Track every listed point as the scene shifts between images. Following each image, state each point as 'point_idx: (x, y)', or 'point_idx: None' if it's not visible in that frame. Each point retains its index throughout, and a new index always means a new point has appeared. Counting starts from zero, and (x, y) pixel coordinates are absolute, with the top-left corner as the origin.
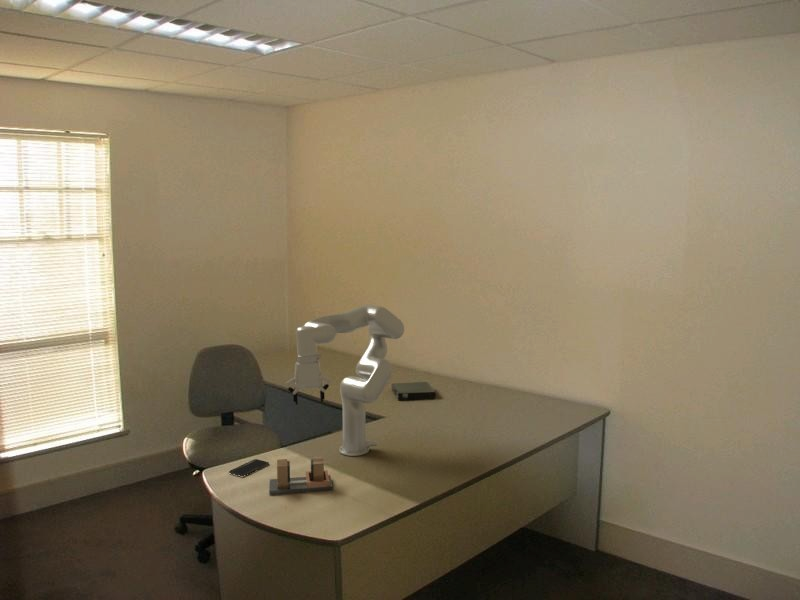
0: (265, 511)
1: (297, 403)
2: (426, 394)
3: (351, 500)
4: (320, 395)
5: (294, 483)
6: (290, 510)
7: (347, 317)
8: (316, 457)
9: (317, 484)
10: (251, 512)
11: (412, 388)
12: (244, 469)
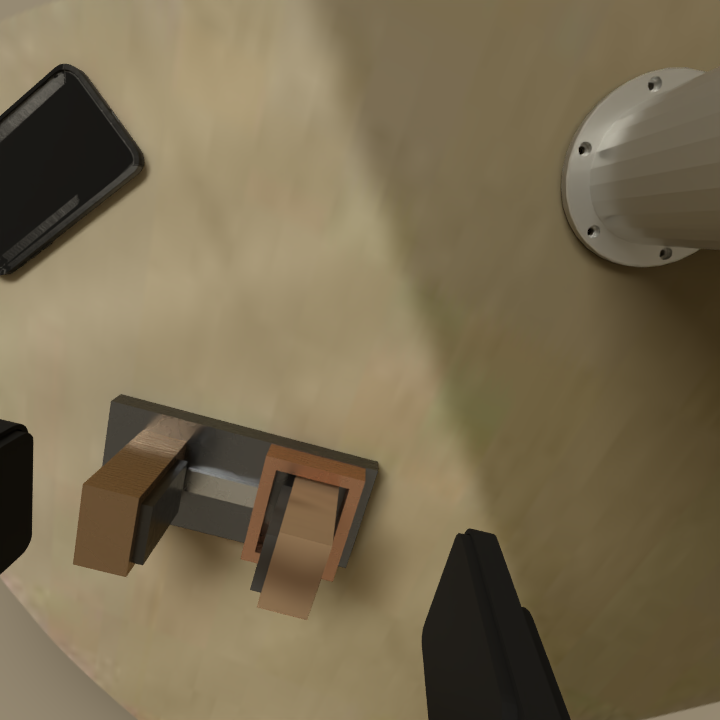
0: (80, 601)
1: (18, 555)
2: None
3: (378, 645)
4: (457, 674)
5: (204, 494)
6: (163, 626)
7: None
8: (296, 542)
9: None
10: (33, 589)
11: None
12: (4, 194)
